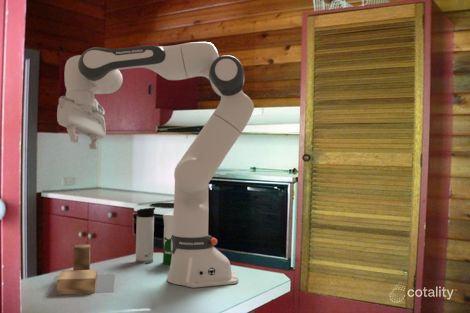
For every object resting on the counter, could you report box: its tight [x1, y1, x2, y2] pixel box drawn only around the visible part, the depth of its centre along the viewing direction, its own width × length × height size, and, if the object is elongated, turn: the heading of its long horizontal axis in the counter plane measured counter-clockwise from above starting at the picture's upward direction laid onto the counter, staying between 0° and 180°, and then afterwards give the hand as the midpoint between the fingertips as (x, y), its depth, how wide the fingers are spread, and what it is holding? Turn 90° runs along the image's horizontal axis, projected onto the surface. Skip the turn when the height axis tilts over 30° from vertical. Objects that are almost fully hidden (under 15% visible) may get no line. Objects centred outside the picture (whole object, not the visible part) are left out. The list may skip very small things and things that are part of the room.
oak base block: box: [56, 269, 98, 295], centre depth 133 cm, size 10×10×4 cm
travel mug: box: [135, 206, 156, 264], centre depth 171 cm, size 6×7×20 cm
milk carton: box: [162, 211, 174, 265], centre depth 170 cm, size 9×9×20 cm
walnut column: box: [73, 243, 92, 270], centre depth 144 cm, size 4×4×10 cm
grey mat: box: [44, 273, 116, 296], centre depth 138 cm, size 18×20×1 cm
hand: (84, 145), depth 145 cm, fingers open, 8 cm apart
